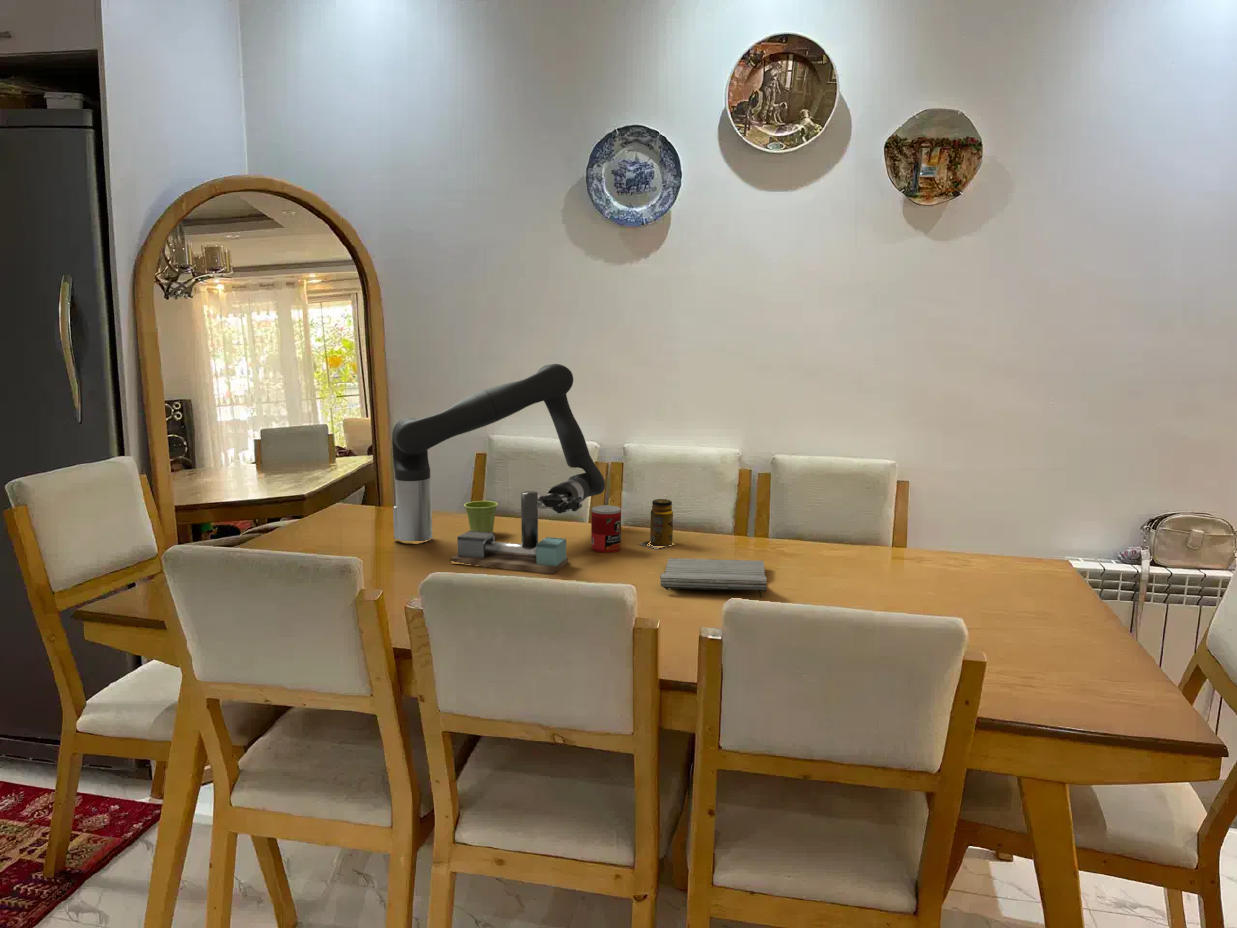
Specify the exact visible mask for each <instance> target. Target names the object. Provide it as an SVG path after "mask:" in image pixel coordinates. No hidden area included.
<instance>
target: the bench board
mask: <svg viewBox="0 0 1237 928" xmlns="http://www.w3.org/2000/svg"><path fill="white" fill-rule="evenodd" d="M451 561H454V562H459V563H464V564H471V565H479V566H484V567H483V568H487V567H494V568H493V569H497V568H503V569H502V570H507V569H508V570H510V571H518V572H519V571H521V572H529V573H530V572H531V573H538V574H550V575H551V574H552V575H555V574H556V573H557V572H558V571H560V570H561V569H562V568H564V567H565V566H566V565H568V564H569V556H566V559H565V560H564V561H562V562H561V563H560V564H558V565H557V566H550V565H539V564H537V561H536V559H535V558H524V557H514V556H503V555H492V554H485V558H484V559H479V558H469V557H458V553H457V554H456V555H454V556H452V557H450V562H451ZM508 570H507V571H508Z"/></svg>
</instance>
